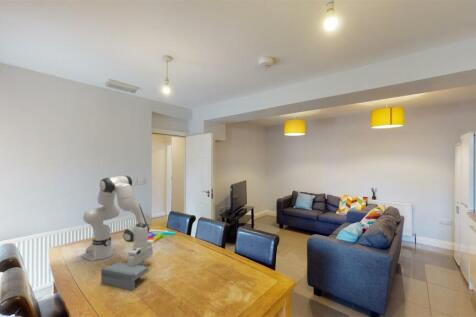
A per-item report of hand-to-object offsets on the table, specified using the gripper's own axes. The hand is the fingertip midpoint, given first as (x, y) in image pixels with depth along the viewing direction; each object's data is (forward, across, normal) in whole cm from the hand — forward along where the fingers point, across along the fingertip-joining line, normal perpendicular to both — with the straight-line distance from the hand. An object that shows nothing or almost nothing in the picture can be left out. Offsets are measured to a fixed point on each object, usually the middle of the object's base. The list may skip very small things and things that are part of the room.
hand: (141, 267), depth 148 cm
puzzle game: (+3, -54, -31) cm, 62 cm away
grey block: (+2, +13, 0) cm, 14 cm away
